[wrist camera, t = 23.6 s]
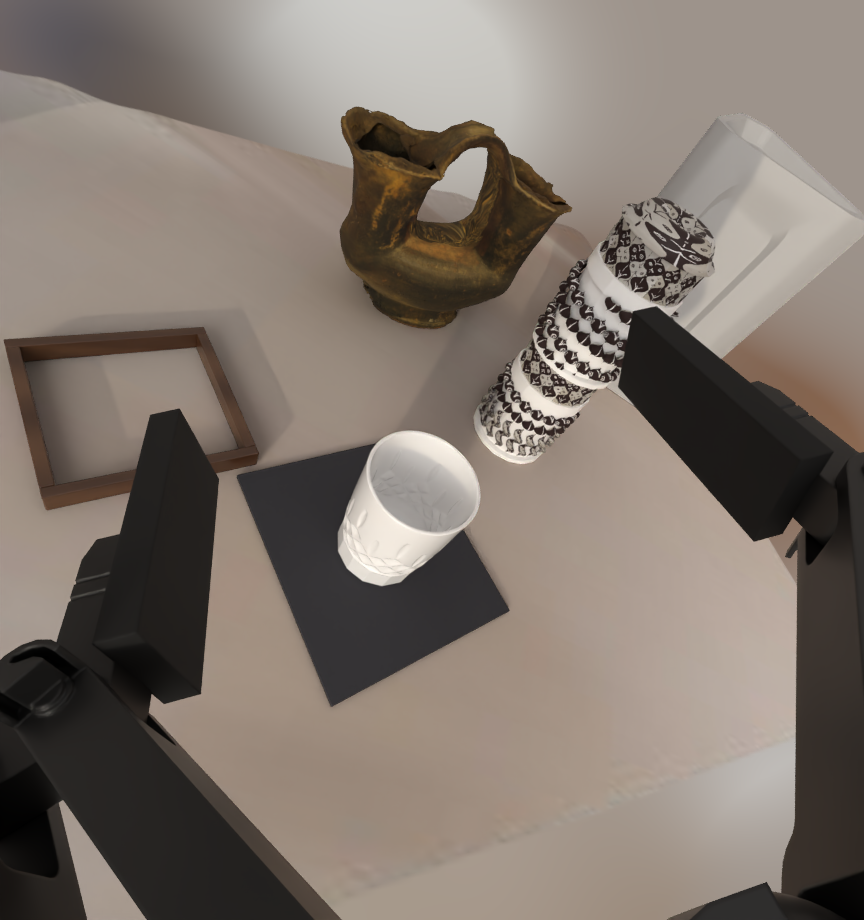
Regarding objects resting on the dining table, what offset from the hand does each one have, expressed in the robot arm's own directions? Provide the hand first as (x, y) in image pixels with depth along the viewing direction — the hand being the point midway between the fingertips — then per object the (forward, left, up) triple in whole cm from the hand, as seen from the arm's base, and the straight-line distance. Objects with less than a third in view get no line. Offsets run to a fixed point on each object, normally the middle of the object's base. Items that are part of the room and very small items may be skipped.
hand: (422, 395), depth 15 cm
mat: (-4, +9, -25) cm, 27 cm away
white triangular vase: (-19, +52, -25) cm, 61 cm away
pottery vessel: (-31, +27, -25) cm, 49 cm away
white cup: (-4, +9, -25) cm, 27 cm away
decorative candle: (-11, +29, -25) cm, 40 cm away
